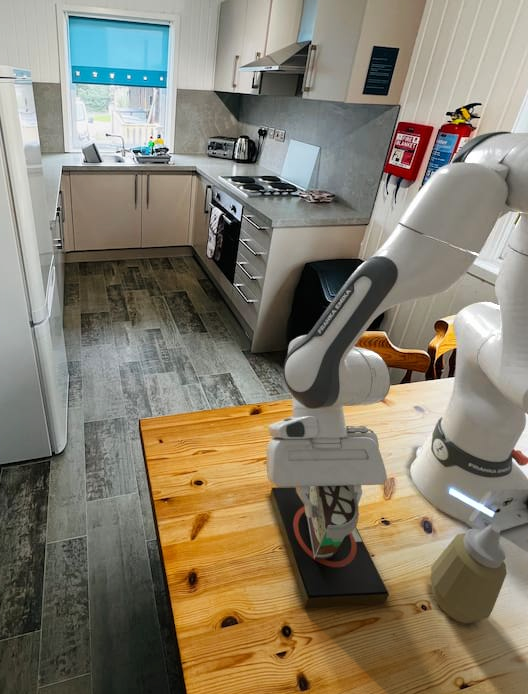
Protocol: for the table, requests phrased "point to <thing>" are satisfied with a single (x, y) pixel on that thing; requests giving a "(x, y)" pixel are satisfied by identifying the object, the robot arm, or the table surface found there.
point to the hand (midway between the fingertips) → (332, 516)
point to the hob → (326, 560)
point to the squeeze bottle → (470, 575)
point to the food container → (331, 518)
